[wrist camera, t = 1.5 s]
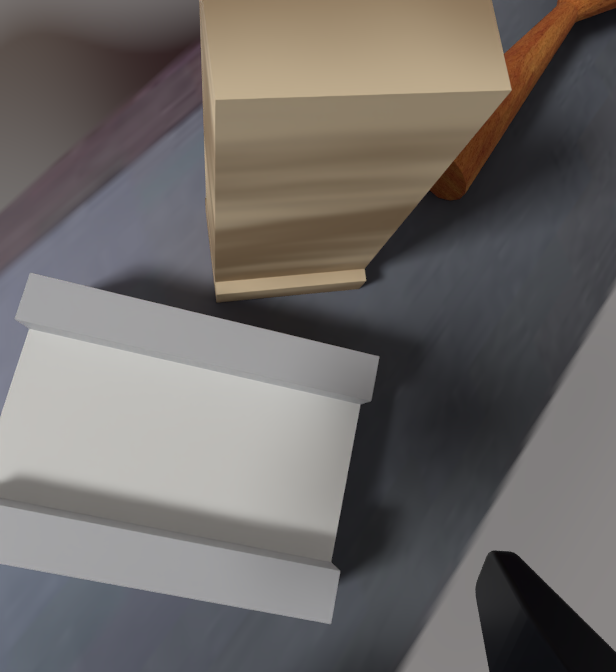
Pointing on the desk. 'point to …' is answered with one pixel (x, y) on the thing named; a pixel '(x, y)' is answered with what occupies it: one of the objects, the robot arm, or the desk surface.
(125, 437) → the ledge
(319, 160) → the beige block with panel
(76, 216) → the desk surface
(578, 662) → the robot arm
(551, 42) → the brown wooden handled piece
